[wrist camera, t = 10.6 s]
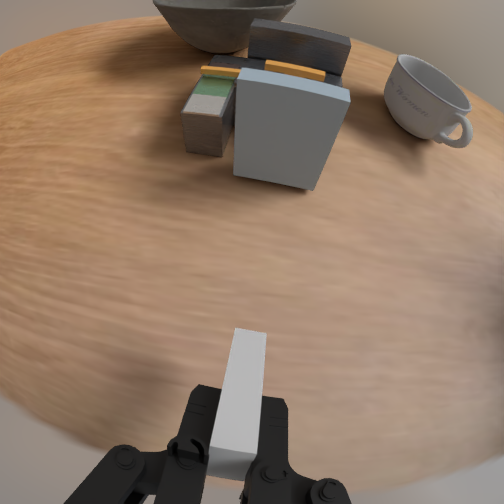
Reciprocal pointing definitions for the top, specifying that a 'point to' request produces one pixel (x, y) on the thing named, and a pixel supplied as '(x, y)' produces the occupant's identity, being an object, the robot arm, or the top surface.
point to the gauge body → (260, 49)
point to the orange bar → (270, 66)
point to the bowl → (219, 20)
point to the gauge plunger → (285, 126)
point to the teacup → (427, 102)
